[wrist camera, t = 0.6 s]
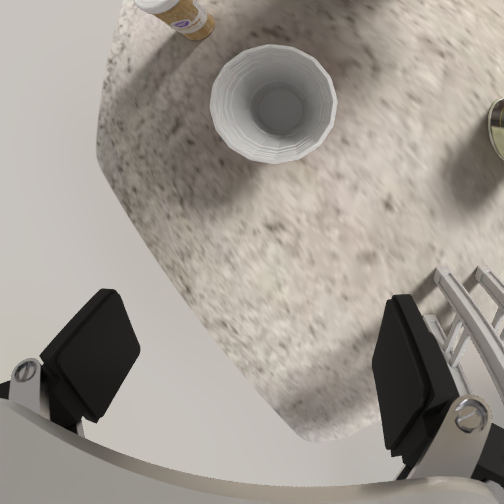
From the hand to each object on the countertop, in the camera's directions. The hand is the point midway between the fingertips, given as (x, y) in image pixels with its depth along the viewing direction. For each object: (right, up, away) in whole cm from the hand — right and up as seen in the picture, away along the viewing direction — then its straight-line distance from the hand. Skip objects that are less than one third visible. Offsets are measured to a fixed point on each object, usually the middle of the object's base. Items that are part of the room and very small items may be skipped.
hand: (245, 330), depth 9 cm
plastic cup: (+4, +20, +22) cm, 30 cm away
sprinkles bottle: (-7, +32, +18) cm, 37 cm away
